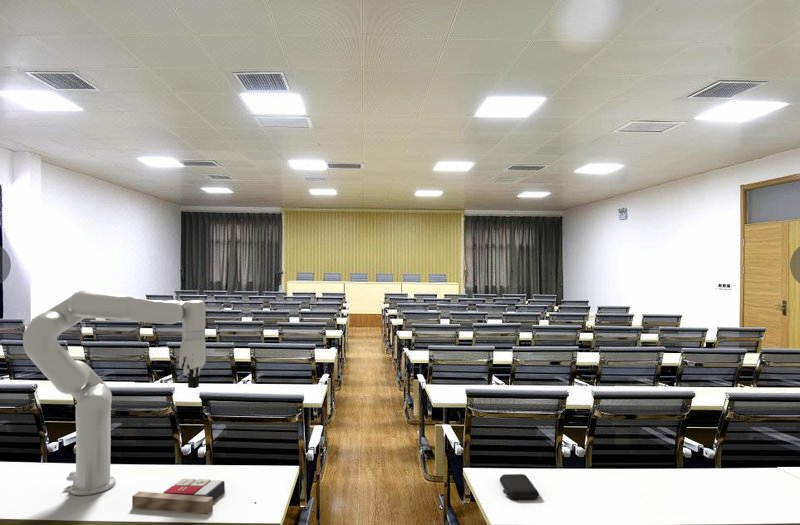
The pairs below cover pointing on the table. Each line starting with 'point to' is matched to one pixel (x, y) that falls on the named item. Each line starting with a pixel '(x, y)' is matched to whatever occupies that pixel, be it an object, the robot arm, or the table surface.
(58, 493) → the table surface
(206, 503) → the bar
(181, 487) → the calculator
